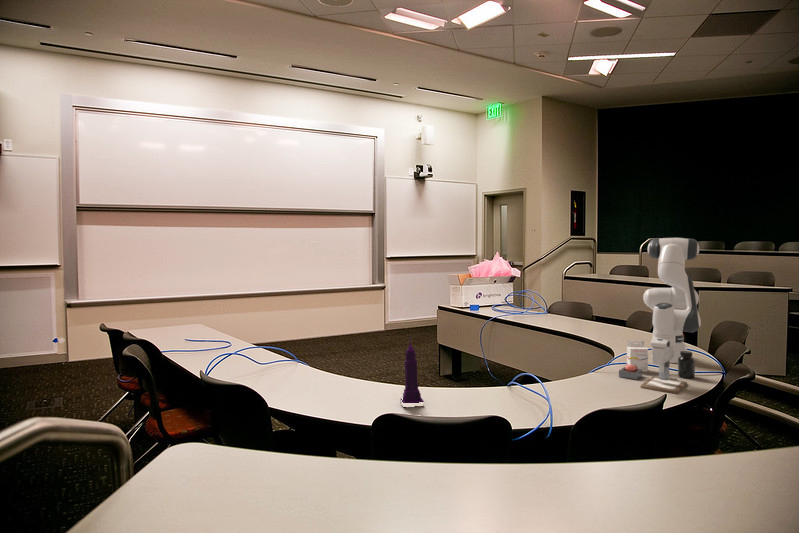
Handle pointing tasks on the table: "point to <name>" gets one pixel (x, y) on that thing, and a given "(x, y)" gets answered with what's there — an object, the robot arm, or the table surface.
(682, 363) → the supplement bottle
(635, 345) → the ink cartridge box
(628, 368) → the button
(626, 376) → the button housing
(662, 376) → the grey lidded jar
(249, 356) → the table surface
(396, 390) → the table surface
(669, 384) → the picture frame
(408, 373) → the building model
